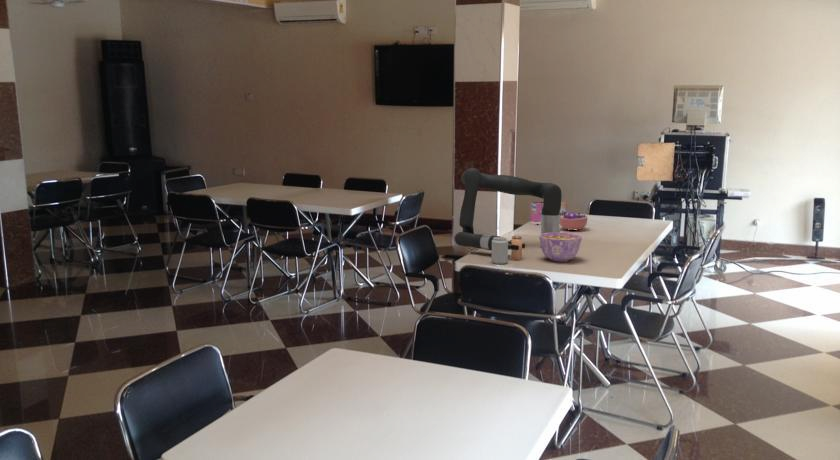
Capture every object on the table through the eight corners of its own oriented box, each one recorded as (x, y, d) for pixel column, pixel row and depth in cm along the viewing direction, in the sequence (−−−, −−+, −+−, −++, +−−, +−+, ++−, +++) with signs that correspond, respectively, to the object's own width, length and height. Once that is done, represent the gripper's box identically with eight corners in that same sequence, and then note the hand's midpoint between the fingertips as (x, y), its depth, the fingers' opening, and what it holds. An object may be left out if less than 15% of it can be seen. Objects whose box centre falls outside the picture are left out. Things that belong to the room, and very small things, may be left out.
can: (490, 261, 330) (490, 236, 328) (505, 261, 330) (506, 236, 328) (493, 264, 322) (493, 239, 320) (509, 264, 323) (509, 238, 321)
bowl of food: (554, 265, 320) (554, 241, 318) (530, 257, 338) (530, 234, 336) (589, 262, 328) (590, 237, 326) (564, 254, 346) (565, 231, 344)
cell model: (592, 229, 420) (592, 210, 418) (580, 233, 404) (581, 214, 402) (565, 226, 429) (565, 208, 427) (553, 231, 413) (553, 212, 411)
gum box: (561, 221, 451) (562, 200, 449) (568, 223, 444) (569, 201, 442) (529, 223, 442) (530, 202, 440) (536, 225, 435) (537, 203, 432)
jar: (520, 257, 337) (520, 235, 336) (522, 260, 333) (523, 237, 331) (510, 258, 337) (510, 235, 335) (512, 260, 332) (513, 237, 330)
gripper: (483, 237, 337) (513, 241, 326) (499, 233, 347) (529, 237, 337) (483, 252, 338) (513, 257, 327) (499, 248, 349) (529, 252, 338)
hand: (521, 247), depth 332 cm, fingers closed on jar, 5 cm apart
